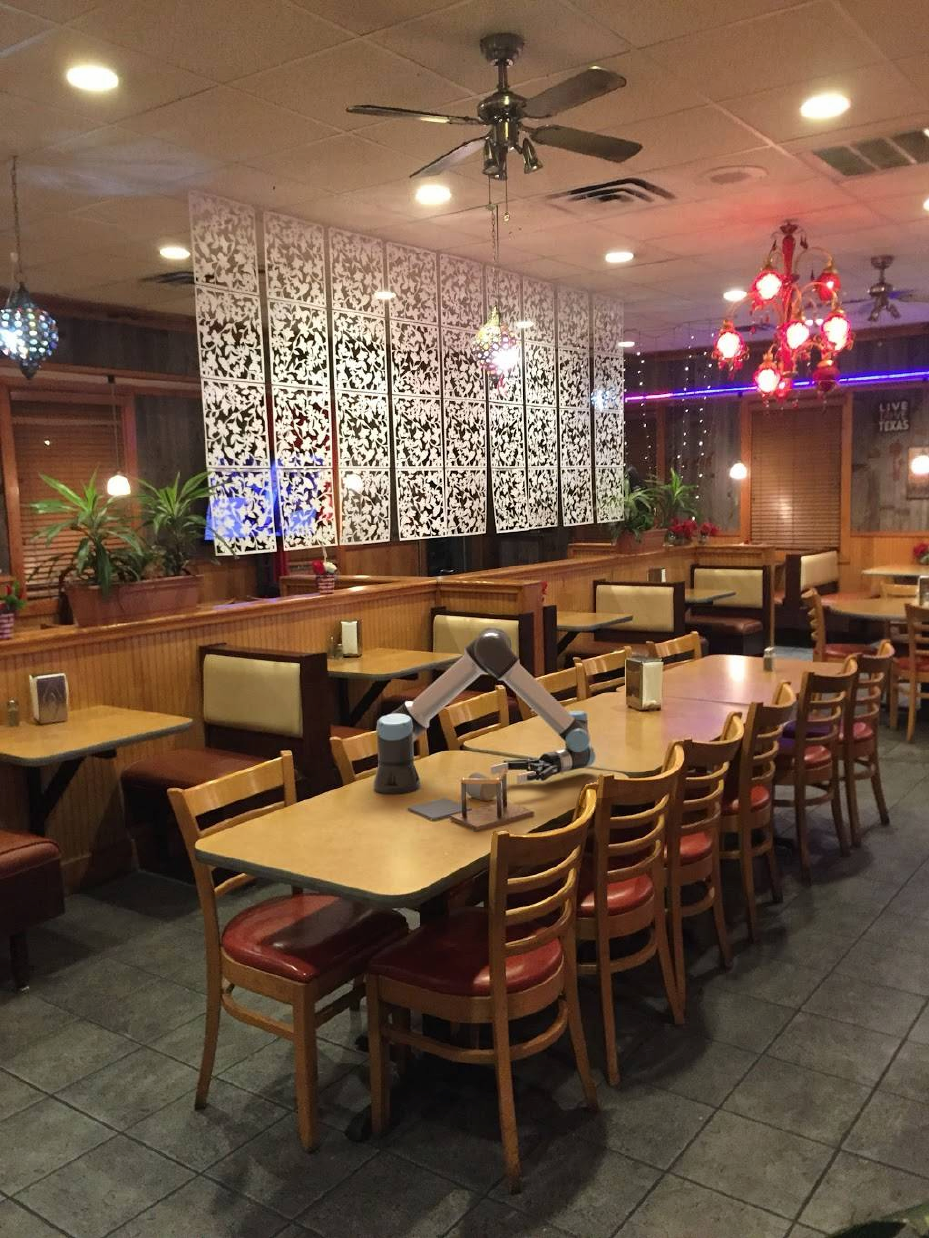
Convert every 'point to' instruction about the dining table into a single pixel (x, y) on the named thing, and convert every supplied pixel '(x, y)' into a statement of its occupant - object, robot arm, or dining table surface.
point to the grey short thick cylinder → (481, 789)
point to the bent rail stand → (490, 807)
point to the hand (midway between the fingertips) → (504, 774)
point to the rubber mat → (438, 809)
